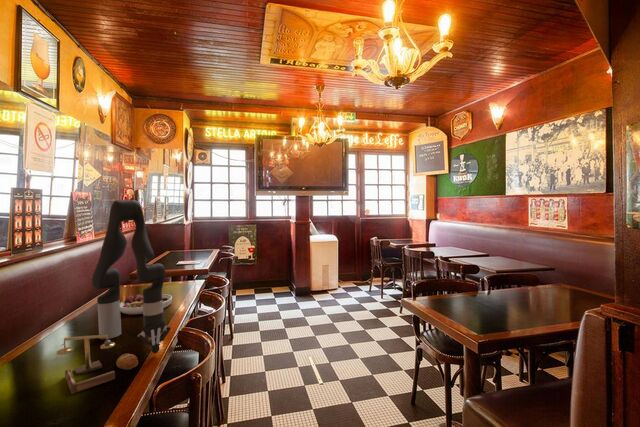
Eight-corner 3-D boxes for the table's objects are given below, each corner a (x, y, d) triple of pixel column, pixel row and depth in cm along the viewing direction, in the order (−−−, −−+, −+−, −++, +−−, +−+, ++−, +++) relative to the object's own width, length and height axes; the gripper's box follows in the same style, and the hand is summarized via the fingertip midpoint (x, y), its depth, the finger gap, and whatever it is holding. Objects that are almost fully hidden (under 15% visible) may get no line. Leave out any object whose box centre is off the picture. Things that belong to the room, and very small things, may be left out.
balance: (58, 381, 117) (56, 342, 116) (57, 375, 121) (54, 338, 121) (117, 362, 130) (115, 327, 129) (114, 358, 134) (112, 324, 134)
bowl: (181, 301, 216) (181, 290, 216) (151, 316, 186) (150, 303, 186) (142, 301, 221) (141, 289, 221) (106, 315, 191) (105, 302, 191)
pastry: (143, 365, 127) (142, 356, 127) (125, 373, 121) (124, 363, 121) (132, 359, 132) (131, 350, 132) (114, 366, 127) (113, 357, 127)
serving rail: (65, 377, 120) (64, 369, 119) (105, 364, 128) (105, 356, 128) (71, 393, 108) (71, 384, 108) (115, 378, 117) (114, 370, 117)
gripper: (166, 306, 141) (168, 344, 142) (133, 314, 132) (135, 355, 132) (173, 309, 136) (175, 349, 136) (138, 318, 127) (140, 361, 127)
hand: (155, 352), depth 134 cm, fingers closed
